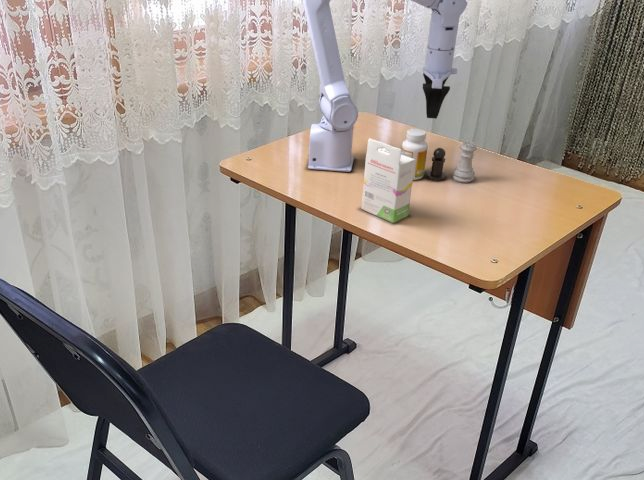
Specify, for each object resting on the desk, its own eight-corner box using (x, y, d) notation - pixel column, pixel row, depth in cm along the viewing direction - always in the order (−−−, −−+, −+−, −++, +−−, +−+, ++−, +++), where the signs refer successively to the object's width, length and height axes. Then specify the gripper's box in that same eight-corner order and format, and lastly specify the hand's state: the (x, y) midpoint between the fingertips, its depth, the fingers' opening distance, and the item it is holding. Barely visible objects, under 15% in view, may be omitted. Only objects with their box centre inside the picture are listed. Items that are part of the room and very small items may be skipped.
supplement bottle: (422, 170, 161) (428, 127, 155) (424, 181, 157) (430, 137, 151) (397, 170, 162) (402, 126, 156) (399, 180, 158) (404, 136, 152)
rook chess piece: (474, 176, 159) (481, 140, 154) (472, 184, 156) (479, 148, 151) (453, 173, 160) (459, 138, 155) (451, 181, 157) (457, 145, 152)
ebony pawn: (426, 180, 157) (430, 151, 153) (426, 172, 160) (430, 144, 157) (445, 181, 157) (450, 152, 153) (445, 174, 160) (449, 145, 156)
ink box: (409, 216, 144) (419, 143, 135) (393, 224, 141) (402, 150, 132) (376, 201, 149) (383, 130, 140) (359, 209, 146) (366, 137, 138)
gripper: (461, 57, 147) (451, 124, 155) (459, 38, 158) (449, 102, 166) (425, 56, 148) (417, 122, 156) (426, 37, 159) (418, 100, 167)
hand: (431, 111), depth 161 cm, fingers open, 7 cm apart
